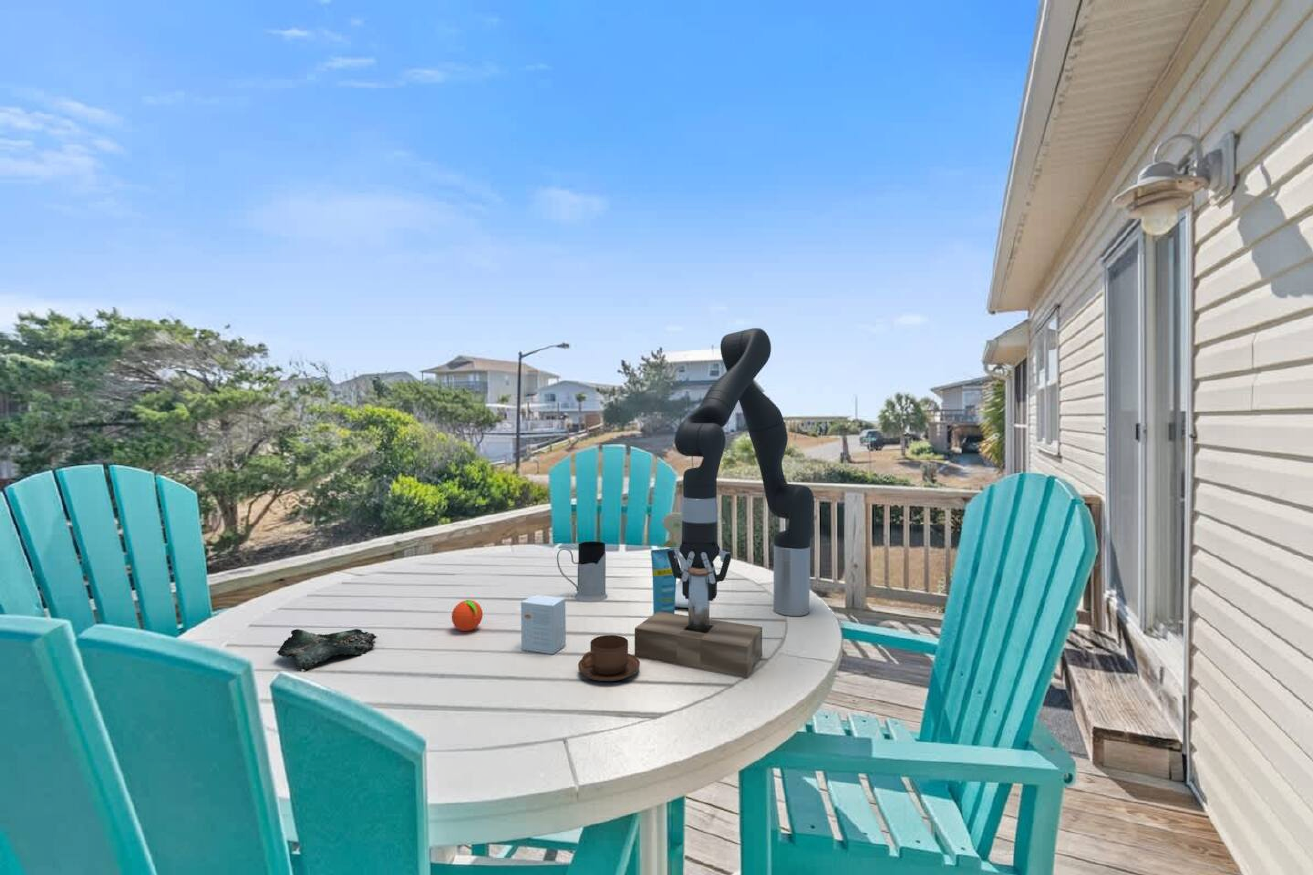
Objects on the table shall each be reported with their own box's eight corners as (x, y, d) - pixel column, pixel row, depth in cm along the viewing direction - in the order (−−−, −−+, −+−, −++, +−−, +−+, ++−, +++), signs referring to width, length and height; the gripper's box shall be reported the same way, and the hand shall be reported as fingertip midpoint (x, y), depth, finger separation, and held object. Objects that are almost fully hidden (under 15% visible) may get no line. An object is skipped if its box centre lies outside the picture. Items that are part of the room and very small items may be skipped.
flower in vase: (713, 602, 154) (713, 511, 154) (693, 614, 145) (693, 517, 144) (672, 595, 161) (672, 508, 161) (650, 605, 152) (651, 512, 151)
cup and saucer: (615, 693, 102) (616, 659, 102) (565, 677, 108) (565, 645, 108) (651, 669, 112) (651, 638, 112) (603, 656, 118) (603, 626, 118)
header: (657, 637, 129) (658, 611, 128) (761, 655, 119) (762, 627, 119) (634, 656, 118) (634, 628, 118) (746, 678, 108) (747, 647, 108)
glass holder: (605, 602, 155) (605, 547, 154) (553, 601, 155) (553, 547, 154) (608, 592, 163) (608, 541, 163) (559, 592, 163) (559, 540, 163)
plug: (692, 628, 121) (692, 562, 121) (713, 631, 119) (713, 565, 119) (683, 635, 117) (684, 567, 117) (705, 639, 115) (706, 570, 115)
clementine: (490, 631, 132) (490, 600, 132) (463, 639, 127) (463, 607, 127) (473, 622, 137) (473, 593, 137) (446, 630, 132) (446, 600, 132)
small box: (566, 645, 124) (566, 597, 123) (553, 655, 118) (553, 605, 118) (534, 640, 126) (534, 594, 126) (520, 650, 121) (520, 601, 121)
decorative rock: (349, 614, 132) (395, 619, 126) (349, 641, 131) (395, 647, 125) (264, 636, 114) (313, 642, 108) (264, 667, 114) (313, 675, 108)
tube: (656, 634, 130) (657, 551, 130) (645, 628, 135) (646, 547, 134) (682, 628, 135) (683, 548, 134) (671, 622, 139) (671, 544, 138)
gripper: (736, 516, 120) (735, 596, 120) (670, 513, 124) (670, 590, 124) (731, 523, 113) (730, 607, 113) (662, 519, 116) (662, 601, 117)
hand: (699, 598), depth 119 cm, fingers closed on plug, 4 cm apart
